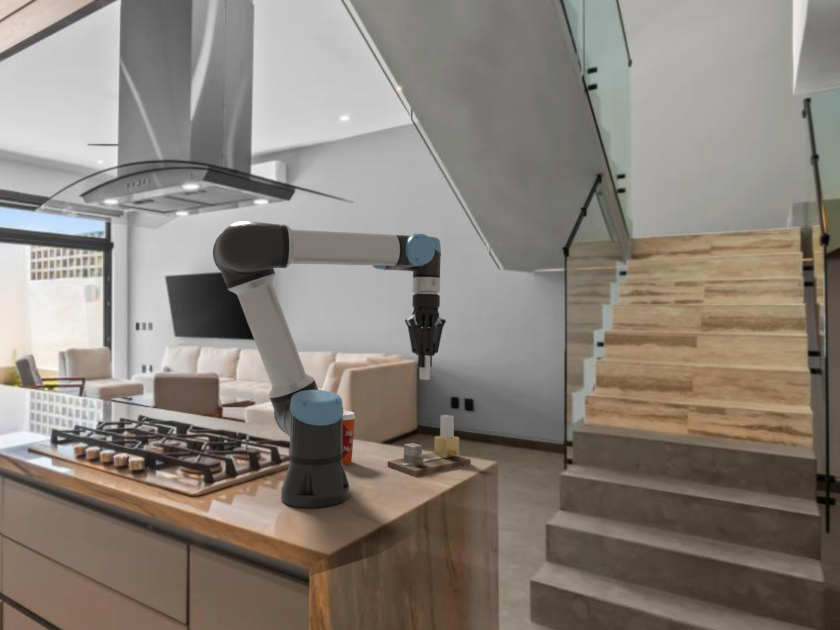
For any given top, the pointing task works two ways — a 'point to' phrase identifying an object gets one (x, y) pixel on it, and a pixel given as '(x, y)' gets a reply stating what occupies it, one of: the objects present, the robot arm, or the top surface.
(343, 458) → the paper cup
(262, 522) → the top surface
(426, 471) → the assembly board
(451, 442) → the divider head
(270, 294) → the robot arm
